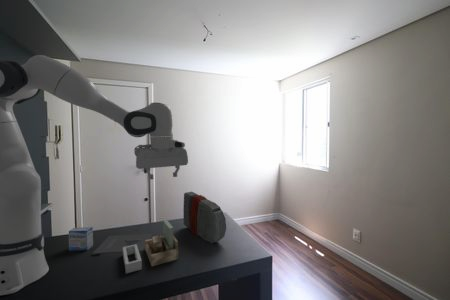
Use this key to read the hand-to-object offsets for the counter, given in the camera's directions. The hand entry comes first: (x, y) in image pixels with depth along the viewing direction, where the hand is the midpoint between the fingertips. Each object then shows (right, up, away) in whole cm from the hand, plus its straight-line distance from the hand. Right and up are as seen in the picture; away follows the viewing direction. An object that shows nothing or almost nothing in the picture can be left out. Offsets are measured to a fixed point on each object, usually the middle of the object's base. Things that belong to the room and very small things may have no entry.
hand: (163, 177), depth 88 cm
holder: (-11, -32, -5) cm, 34 cm away
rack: (-1, -32, 0) cm, 32 cm away
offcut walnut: (-2, -29, -1) cm, 29 cm away
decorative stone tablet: (+14, -31, +18) cm, 39 cm away
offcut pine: (-2, -27, -1) cm, 27 cm away
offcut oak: (-2, -31, -1) cm, 31 cm away
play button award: (-20, -32, +10) cm, 40 cm away
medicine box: (-38, -32, +7) cm, 50 cm away
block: (+2, -31, +2) cm, 31 cm away
